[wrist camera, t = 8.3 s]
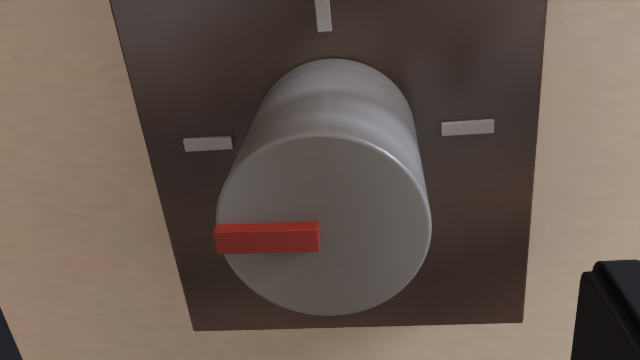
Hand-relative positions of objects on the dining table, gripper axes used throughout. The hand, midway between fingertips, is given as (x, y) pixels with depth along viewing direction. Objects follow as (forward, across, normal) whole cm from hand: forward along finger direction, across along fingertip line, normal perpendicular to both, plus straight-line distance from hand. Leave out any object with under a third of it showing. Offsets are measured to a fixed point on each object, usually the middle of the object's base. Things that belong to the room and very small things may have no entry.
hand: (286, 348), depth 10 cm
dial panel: (+11, -1, 0) cm, 11 cm away
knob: (+8, -1, 0) cm, 8 cm away
